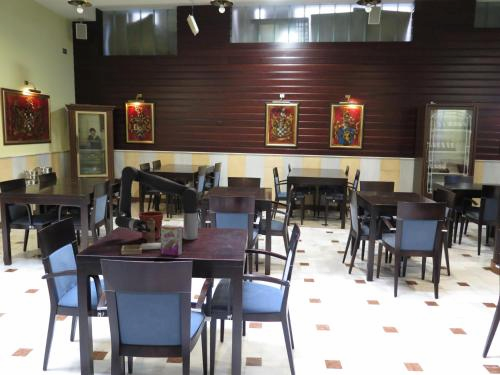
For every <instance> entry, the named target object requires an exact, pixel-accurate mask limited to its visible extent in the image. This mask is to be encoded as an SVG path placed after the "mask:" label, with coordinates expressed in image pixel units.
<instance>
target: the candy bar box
mask: <svg viewBox="0 0 500 375" xmlns="http://www.w3.org/2000/svg"><path fill="white" fill-rule="evenodd" d="M182 230H183V225H181V226H180V225H170V224H162V226H161V238H160V243H161V249H160V255H164V256H165V255H167V256H174V257H179V256H180V255H182V253H183V249H182V248H183V246H182V244H183V236H182V235H183V231H182Z"/></svg>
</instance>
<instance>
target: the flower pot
mask: <svg viewBox="0 0 500 375" xmlns="http://www.w3.org/2000/svg"><path fill="white" fill-rule="evenodd" d="M137 215H138V217H139V220H143V221H145V222H146V224H147V221H149V218H153V221H155V225H157V226H156V227H158V231H155V240H158V239H161V226H163V220H164V215H165V212H162V211H144V212H139V213H138V214H137ZM141 238H142V239H144V240H147V232H141Z"/></svg>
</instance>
